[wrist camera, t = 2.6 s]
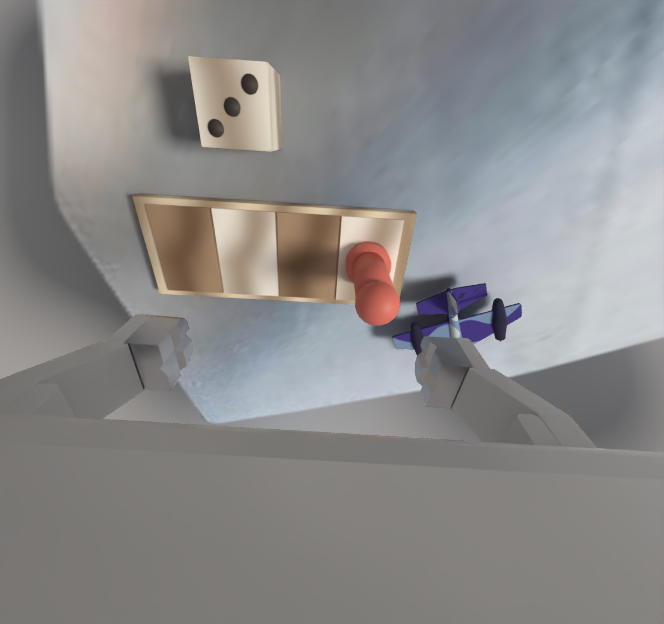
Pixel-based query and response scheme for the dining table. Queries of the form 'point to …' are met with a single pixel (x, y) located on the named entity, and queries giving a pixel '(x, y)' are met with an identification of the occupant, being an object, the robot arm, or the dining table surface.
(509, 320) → the toy airplane
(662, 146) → the dining table surface
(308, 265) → the track board
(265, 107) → the die
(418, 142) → the dining table surface
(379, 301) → the pawn
